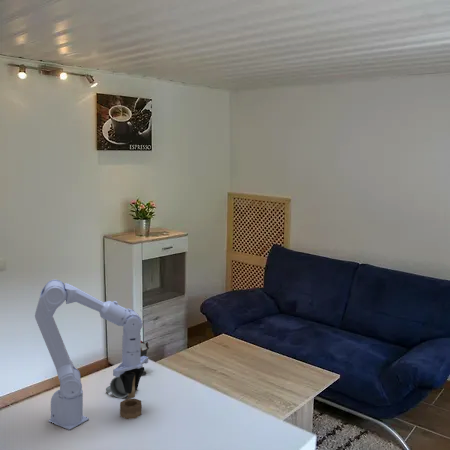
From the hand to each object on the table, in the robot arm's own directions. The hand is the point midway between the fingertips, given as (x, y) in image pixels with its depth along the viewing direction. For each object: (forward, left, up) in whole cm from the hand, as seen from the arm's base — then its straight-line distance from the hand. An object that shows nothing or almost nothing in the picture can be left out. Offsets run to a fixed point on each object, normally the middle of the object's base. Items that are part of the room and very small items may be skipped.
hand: (131, 391), depth 154 cm
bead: (0, 0, -8) cm, 8 cm away
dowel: (0, 0, -2) cm, 2 cm away
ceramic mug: (-13, +10, -8) cm, 18 cm away
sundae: (-19, +27, -8) cm, 34 cm away
